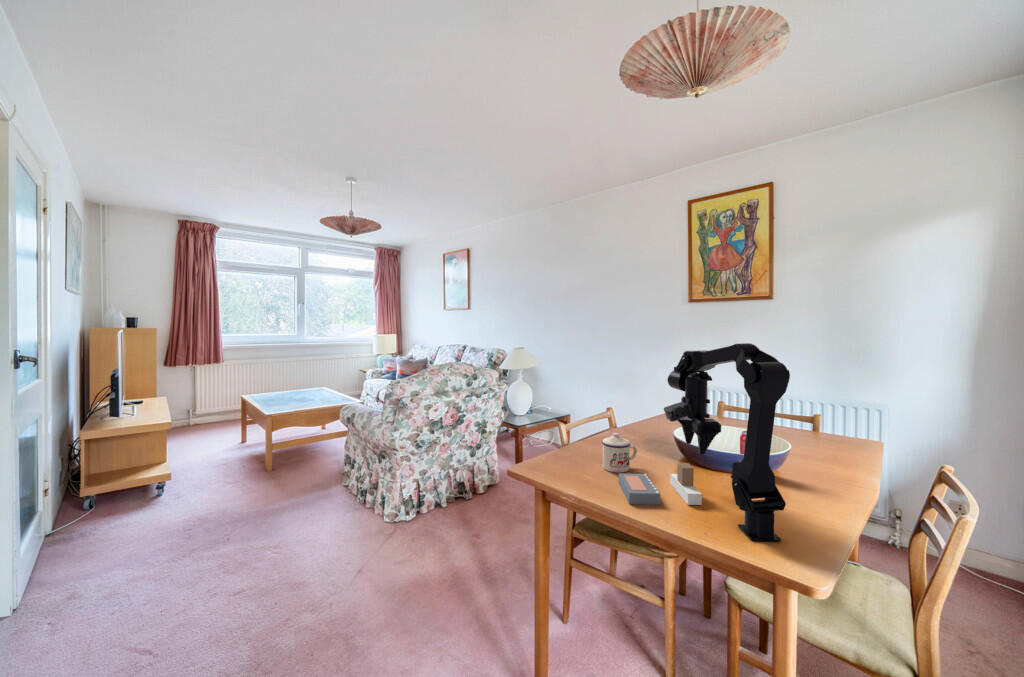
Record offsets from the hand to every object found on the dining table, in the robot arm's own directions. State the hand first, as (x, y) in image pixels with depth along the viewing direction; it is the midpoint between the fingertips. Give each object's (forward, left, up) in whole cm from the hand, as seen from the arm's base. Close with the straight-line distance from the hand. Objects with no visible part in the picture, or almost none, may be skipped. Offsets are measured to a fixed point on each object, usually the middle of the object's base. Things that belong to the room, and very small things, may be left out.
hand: (694, 448), depth 116 cm
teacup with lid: (+17, +18, -12) cm, 28 cm away
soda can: (+14, -24, -12) cm, 30 cm away
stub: (-3, +3, -12) cm, 13 cm away
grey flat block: (-3, +16, -12) cm, 21 cm away
